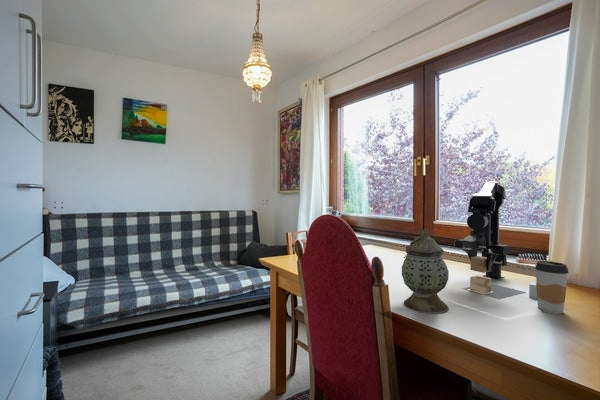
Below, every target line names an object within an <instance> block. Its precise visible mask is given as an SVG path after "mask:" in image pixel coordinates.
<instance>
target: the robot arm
mask: <svg viewBox="0 0 600 400" xmlns="http://www.w3.org/2000/svg"><path fill="white" fill-rule="evenodd" d="M469 198H470V199H469V203H468V209H467V213H472V214H470V215H469V216H468V217H467V219H466V223H467V226H468V227H469V228H470V229H471V230H470V234H469V235H466V236H465V237H464V238H462V239H461V238H460V239H456V240H455V241H454V244H453V246H454V247H455V248H459V249H461V250H462V251H464V252H465V253H466V254H467V256H468V258H469V261H470V262H471V257H473V256H478V249H481V256H483V257H487V263H486V268H487V271H489V270H490V268H491V272H485V274H484V275H482V276H483V277H488V278H491V280H492V279H493V280H502V279H505V278H506V277H505V276H502V267H505V266H506V267H507V266H508V262H507V260H508V259H507V255H508V254H512V248H511V246H510V244H501V242H500V209H501V207H502V206H503V204H504V203H505V200H506V198H507V195H506V189H505V187H504V186H502V185H500V184H499V182H498V181H485V182H483V186H482V187H481V189H480V191H479V192H477V193H474V194H473V195H472V196H471V197H469ZM491 266H492V267H491Z"/></svg>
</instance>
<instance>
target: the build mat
mask: <svg viewBox="0 0 600 400" xmlns="http://www.w3.org/2000/svg"><path fill="white" fill-rule="evenodd" d="M461 289H462V290H465V291H468V292H472V293H475V294H479V295H483V296H486V297H490V298H493V299H496V300H501V299H506V298H510V297H514V296H518V295H522V294H526V293H527V292H526V291H522V290H520V289H519V290H518V289H515V288H511V287H508V286H507V287H506V286H503V285H498V284H495V283H491V292H487V293H480V292H476V291H472V290H470V286H467V287H464V288H461Z"/></svg>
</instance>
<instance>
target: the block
mask: <svg viewBox="0 0 600 400" xmlns="http://www.w3.org/2000/svg"><path fill="white" fill-rule="evenodd" d="M528 285H529V288H528V289H529V291H528V292H529V293H528V297H529V298H534V299H537V289H536V281H532V282H530V283H529V284H528Z"/></svg>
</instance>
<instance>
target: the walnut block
mask: <svg viewBox="0 0 600 400" xmlns="http://www.w3.org/2000/svg"><path fill="white" fill-rule="evenodd" d="M486 263H487V257H483V256H482V255H477V256H473V257H471V261H470V271H474V272H478V273H483V274H486V272H491V268H490V270H489V271H487V268H486ZM491 267H492V266H491Z"/></svg>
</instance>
